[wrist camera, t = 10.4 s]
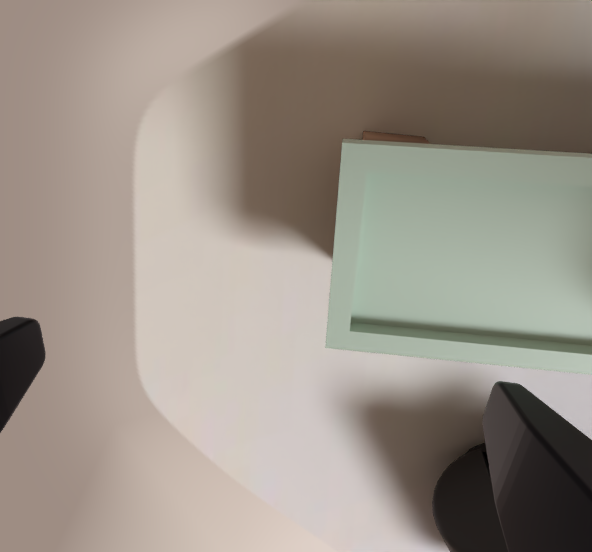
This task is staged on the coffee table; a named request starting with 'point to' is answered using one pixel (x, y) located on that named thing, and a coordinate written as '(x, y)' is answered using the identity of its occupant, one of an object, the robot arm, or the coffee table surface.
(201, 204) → the coffee table surface
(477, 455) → the end cap
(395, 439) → the coffee table surface
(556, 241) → the green rimmed tray
